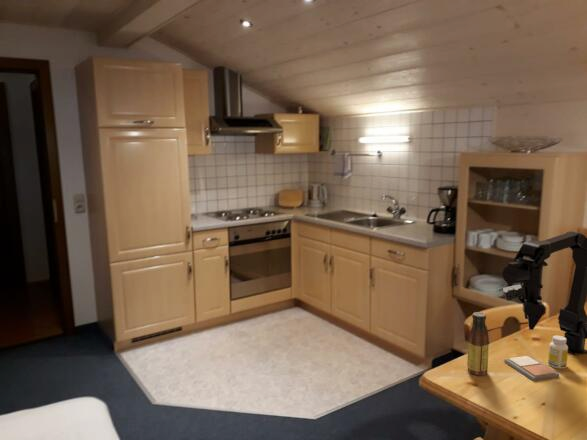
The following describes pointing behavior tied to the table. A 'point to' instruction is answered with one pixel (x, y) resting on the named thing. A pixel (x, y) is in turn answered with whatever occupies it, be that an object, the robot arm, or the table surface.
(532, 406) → the table surface
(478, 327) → the sauce bottle
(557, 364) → the supplement bottle
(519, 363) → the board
